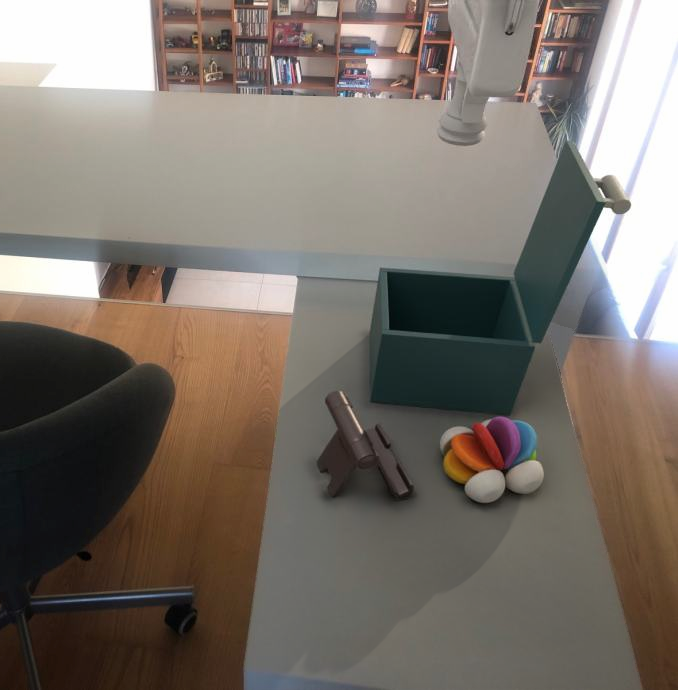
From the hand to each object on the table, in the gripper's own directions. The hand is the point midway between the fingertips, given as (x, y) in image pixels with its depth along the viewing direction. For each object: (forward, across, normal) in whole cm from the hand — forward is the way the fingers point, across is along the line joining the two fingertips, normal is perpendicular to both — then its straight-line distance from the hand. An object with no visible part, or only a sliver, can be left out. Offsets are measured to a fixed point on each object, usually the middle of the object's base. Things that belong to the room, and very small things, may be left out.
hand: (466, 109), depth 63 cm
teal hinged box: (+32, 0, -3) cm, 33 cm away
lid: (+13, 0, -11) cm, 17 cm away
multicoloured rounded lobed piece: (+33, -15, -7) cm, 36 cm away
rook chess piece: (+3, 0, 0) cm, 3 cm away
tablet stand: (+33, -17, +6) cm, 37 cm away
